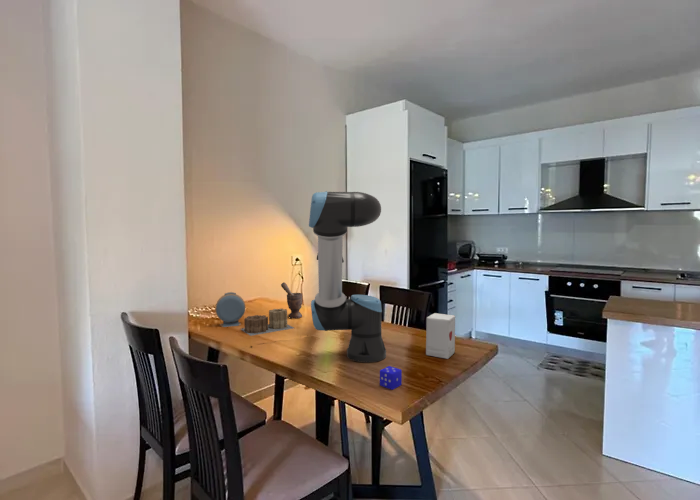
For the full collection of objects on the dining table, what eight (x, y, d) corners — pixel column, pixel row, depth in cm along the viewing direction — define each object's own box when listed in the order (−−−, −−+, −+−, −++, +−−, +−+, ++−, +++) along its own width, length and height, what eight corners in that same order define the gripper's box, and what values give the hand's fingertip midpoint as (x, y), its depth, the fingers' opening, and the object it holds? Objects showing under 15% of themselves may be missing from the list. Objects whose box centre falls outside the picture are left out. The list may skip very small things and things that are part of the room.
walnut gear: (271, 330, 177) (271, 318, 176) (249, 334, 171) (249, 321, 170) (262, 326, 185) (262, 314, 185) (241, 329, 179) (241, 317, 179)
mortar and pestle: (289, 321, 201) (289, 283, 200) (279, 318, 207) (278, 282, 206) (305, 317, 210) (305, 281, 209) (295, 314, 216) (295, 280, 214)
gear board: (294, 331, 182) (294, 317, 181) (250, 339, 169) (250, 324, 169) (282, 324, 193) (282, 312, 193) (240, 331, 181) (239, 318, 180)
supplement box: (448, 359, 141) (448, 320, 141) (425, 355, 146) (425, 317, 145) (455, 352, 149) (455, 315, 148) (433, 348, 154) (433, 312, 153)
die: (392, 390, 115) (392, 374, 115) (379, 385, 119) (379, 370, 118) (401, 385, 119) (401, 369, 119) (388, 380, 122) (388, 365, 122)
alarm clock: (245, 323, 196) (244, 290, 195) (246, 328, 187) (245, 293, 186) (216, 326, 192) (215, 291, 191) (215, 331, 182) (214, 295, 181)
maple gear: (290, 327, 183) (290, 310, 182) (273, 330, 178) (273, 313, 178) (282, 323, 190) (282, 307, 190) (266, 326, 185) (266, 310, 185)
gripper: (351, 231, 167) (351, 278, 168) (322, 230, 187) (323, 273, 188) (336, 231, 162) (337, 280, 164) (309, 231, 183) (309, 274, 184)
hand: (329, 276), depth 176 cm, fingers open, 13 cm apart
